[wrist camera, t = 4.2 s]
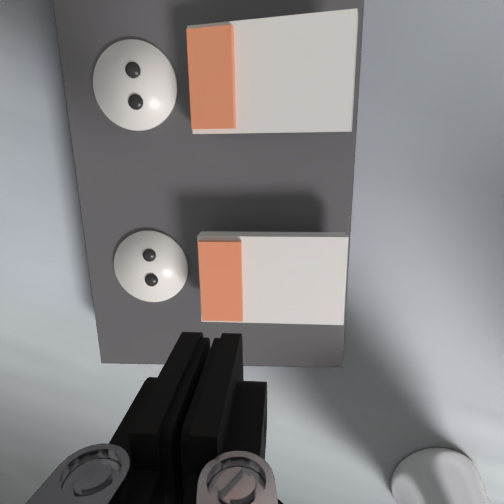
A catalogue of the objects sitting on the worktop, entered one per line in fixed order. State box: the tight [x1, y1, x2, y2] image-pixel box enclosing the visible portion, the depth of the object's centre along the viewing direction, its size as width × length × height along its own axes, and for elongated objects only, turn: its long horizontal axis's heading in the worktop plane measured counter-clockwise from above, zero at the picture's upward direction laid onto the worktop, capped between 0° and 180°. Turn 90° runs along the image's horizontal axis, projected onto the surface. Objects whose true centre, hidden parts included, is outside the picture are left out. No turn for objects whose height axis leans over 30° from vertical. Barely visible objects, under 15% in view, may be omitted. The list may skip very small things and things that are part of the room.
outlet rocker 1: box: [186, 8, 358, 134], centre depth 17 cm, size 7×4×1 cm, turn 91°
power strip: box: [53, 0, 364, 367], centre depth 21 cm, size 14×39×4 cm, turn 1°
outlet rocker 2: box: [197, 231, 349, 325], centre depth 19 cm, size 7×4×1 cm, turn 91°
